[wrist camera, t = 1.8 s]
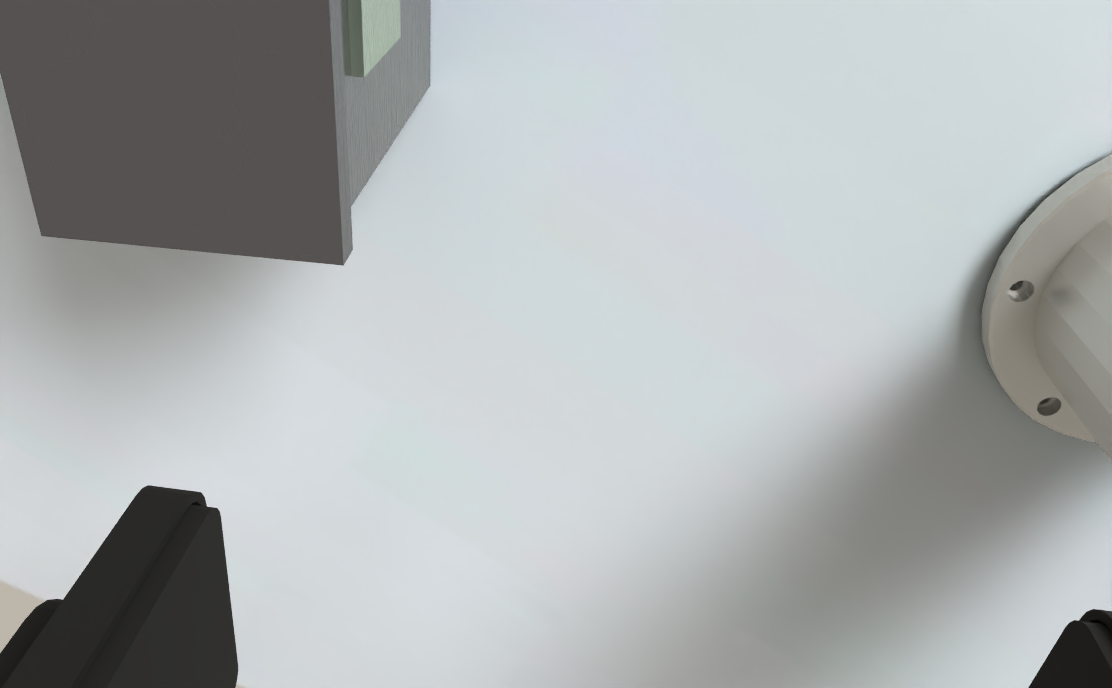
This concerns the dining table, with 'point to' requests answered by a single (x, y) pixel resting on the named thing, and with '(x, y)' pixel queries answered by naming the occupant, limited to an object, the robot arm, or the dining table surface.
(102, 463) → the dining table surface
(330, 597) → the dining table surface
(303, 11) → the charcoal unit
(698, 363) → the dining table surface
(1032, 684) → the robot arm
